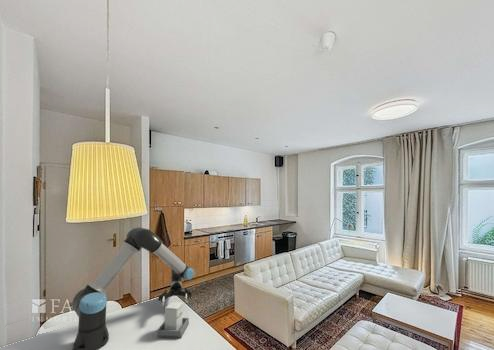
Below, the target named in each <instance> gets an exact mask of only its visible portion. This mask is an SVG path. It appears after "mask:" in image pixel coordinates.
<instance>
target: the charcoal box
mask: <svg viewBox="0 0 494 350" xmlns="http://www.w3.org/2000/svg"><path fill="white" fill-rule="evenodd" d="M189 319H190V318H189V317H182V326H181V327H180V329H179V330H164V328H165V320H164V321H163V323H162V324H161V325H160V327H159V328H158V329H157V330H156V338H157V339H158V338H159V339H182V337H183V335H184V333H185V331H186V330H187V329H188V326H189V324H190V320H189Z"/></svg>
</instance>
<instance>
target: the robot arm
mask: <svg viewBox="0 0 494 350" xmlns="http://www.w3.org/2000/svg"><path fill="white" fill-rule="evenodd" d="M122 242H123V243H122V246H121V248H120V249H119V250H118V251H117V252H116V254H115V255H114V256H113V257H112V259H111V260H110V261H109V262H108V263H107V265H106V266H105V267H104V269H103V270H102V271H101V272H100V273H99V274H98V276H97V277H96V278H95V280H93V281H92V282H89V283H87V285H86V286H85V287H84V288H82V289H80V290H79V291H77V293H76V294H75V295H74V296H73V299H72V303H71V306H72V310H73V311H74V312H75V314H76V315H77V317H78V328H77V329H78V331H77V334H76V337H75V338H74V342H73V345H72V350H99V349H101V348H103V347H104V346H105V345H107V343H108V342H109V339H110V337H109V336H110V333H109V330H108V327H107V325H106V319H107V317H106V316H107V304H108V300H107V296H106V295H107V289H108V288H109V287H110V285H111V284H112V283H113V281H114V280H115V279H116V277H117V276H118V275H119V274H120V272H121V271H122V270H123V269H124V267H125V266H126V265H127V264H128V262H129V261H130V260H131V259H132V257H133V256H134V254H135V253H139V252H140V251H141V249H144V250H146V251H148V252H149V253H150V254H154V255H155V256H157V257H158V259H160V260H161V261H162V262H164V263H165V265H167V266H168V267H169V268H171V279H170V280H171V281H170V289H169V290H167V289H165V290H164V291H163V292H162V293H161V294H159V295H158V298H157V299H158V301H159V302H160V303H162V304H161V307H164V305H165V300H166V299H168V298H172V297H175V296H176V297H177V296H180V297H181V296H182V297H185V303H186V304H187V303H188V300H189V298H191V297H193V296H192V291H190V290H189V289H187V287H184V289H182V285H183V279H184V280H186V281H191V280H192V279H193V278H194V276H195V271H194V269H193V268H191V267H189V266H188V265H186V264H185V262H183V260H181V259H180V258H179V257H178V256H177V255H176V254H175V253H174V252H172V251H171V250H170V249H169V247H167V246H166V245H165V244H163V240H162V239H161V238H160V237H159V236H158V235H157V234H155V232H153V231H152V230H151V229H149V228H144V227H133V228H131V229H130V230H129V231H128V232H127V233H126V238H125V239H124V241H122Z"/></svg>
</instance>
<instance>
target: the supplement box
mask: <svg viewBox="0 0 494 350" xmlns="http://www.w3.org/2000/svg"><path fill="white" fill-rule="evenodd" d="M183 304H184V303H183V302H176V301H175V302H174V301H171V302H170V303H169V304H168V305H167V306H165V308H164V321H165V328H164V330H179V329H180V327H181V326H182V318H183V311H184V309H183V306H184V305H183Z"/></svg>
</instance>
